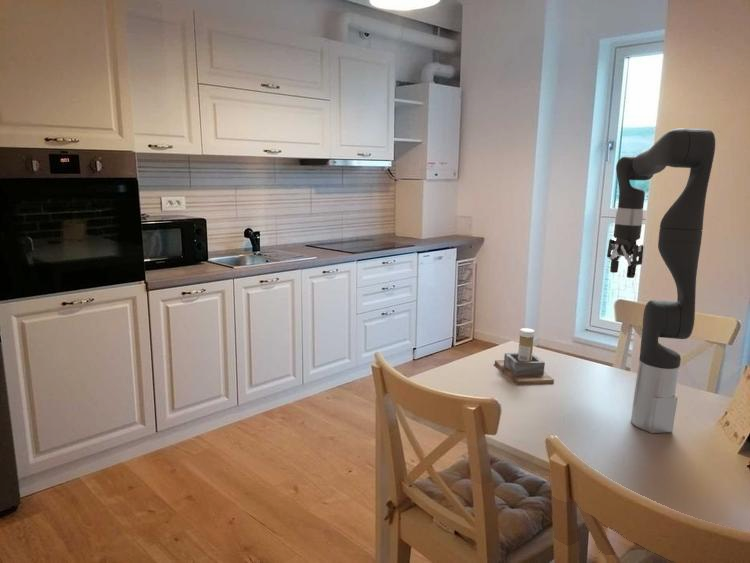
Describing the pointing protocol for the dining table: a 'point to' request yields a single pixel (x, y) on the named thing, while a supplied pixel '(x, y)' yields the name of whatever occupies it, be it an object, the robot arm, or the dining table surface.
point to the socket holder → (524, 370)
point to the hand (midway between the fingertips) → (621, 274)
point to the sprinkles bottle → (525, 345)
